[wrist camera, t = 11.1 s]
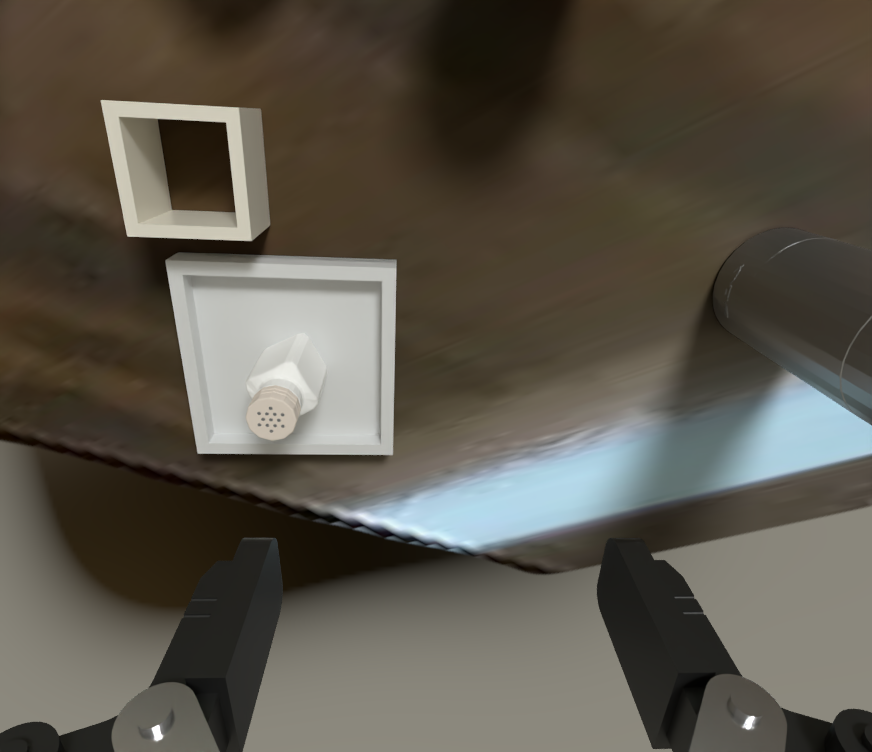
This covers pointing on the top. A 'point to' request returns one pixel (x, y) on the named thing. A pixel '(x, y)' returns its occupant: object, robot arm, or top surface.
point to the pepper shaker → (284, 386)
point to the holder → (147, 179)
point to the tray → (276, 321)
